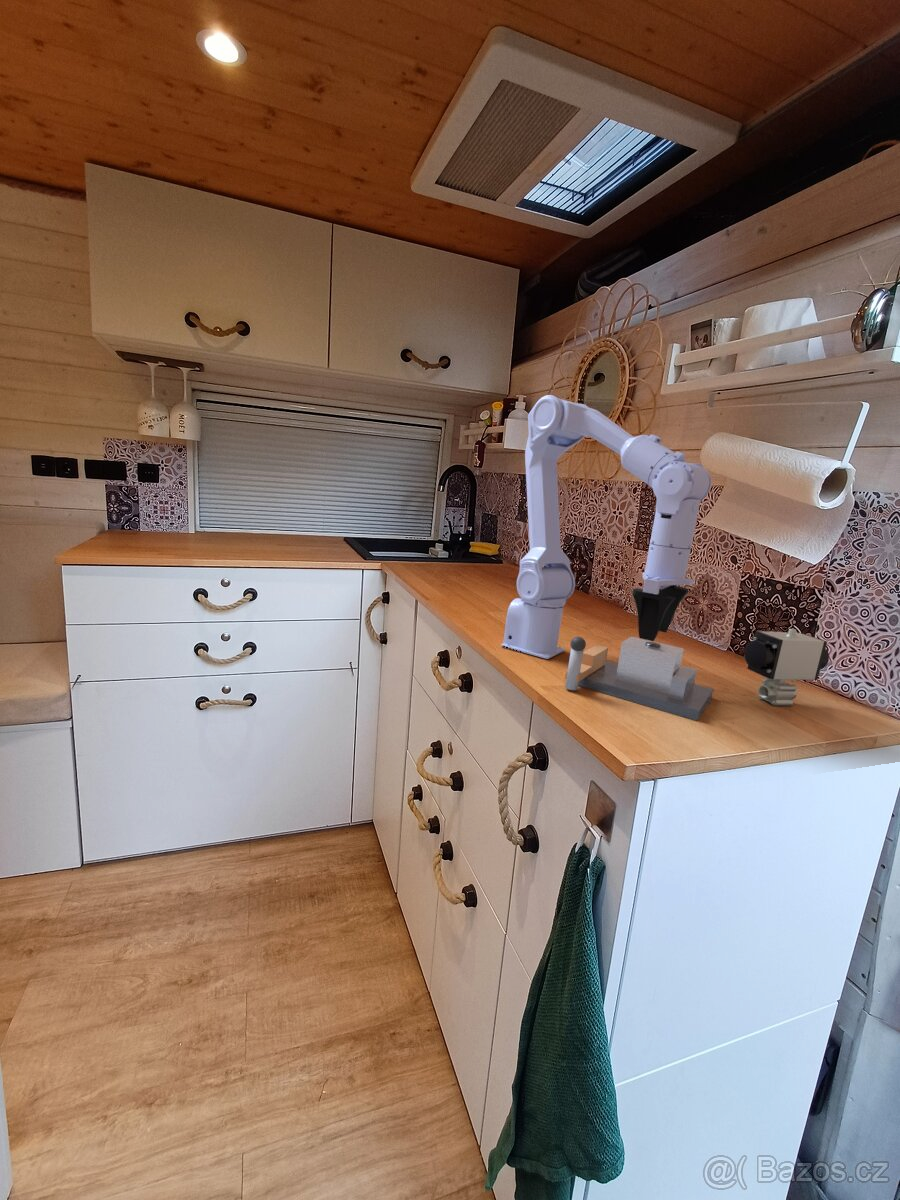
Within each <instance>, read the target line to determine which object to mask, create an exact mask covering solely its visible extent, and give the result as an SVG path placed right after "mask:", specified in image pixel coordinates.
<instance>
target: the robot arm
mask: <svg viewBox="0 0 900 1200" xmlns="http://www.w3.org/2000/svg"><path fill="white" fill-rule="evenodd" d="M527 423H528V424H527V425H528V437H527V441H526V446H525V450H524V451H525V452H524V460H525V463H524V464H525V480H526V484H525V485H526V499H527V501H526V503H527V518H528V519H527V520H528V523H527V524H528V538H529V540H528V541H529V551H528V552H527V553H526V554H525V555H524V556H523V557H522V558H521V559H520V560H519V571H518V576H517V578H516V590H517V593H518V595H519V597H517V598H516V597H515V598H514V599H513V600H512V601H511V602H510V604H509V606H508V609H507V612H506V613H507V614H506V619H505V627H504V636H503V641H502V642H503V643H501V644H500V646H501V645H502V646H505V647H504V648H506V647H508V648H507V649H509V648H511V649H510V650H513V649H514V650H513V651H516V650H517V652H520V651H521V652H520V653H525V654H528V655H531V656H535V657H539V658H542V659H546V660H549V659H551V658H553V657H554V656H557V655H559V654H561V653H563V652H565V651H566V650H565V648H564V647H562V646H558V645H559V637H560V633H561V632H560V630H561V625H562V617H563V611H564V605H566V603H567V599H569V598H570V597H571V596H572V595H573V593H574V591H575V588H576V579H575V575H574V573H573V571H572V569H571V560H570V558H569V557H568V555H567V554H566V553H565V552H564V551H563V550H562V547H561V546H562V545H561V544H562V543H561V527H560V526H561V524H560V503H559V483H558V468H557V467H558V465H557V463H558V460H559V458H561V456H562V455H564V454H565V453H566V452H568V451H569V450H570V449H572V447H574V446H575V445H577V444H578V443H580V442H581V441H582V440H583V439H585V438H586V437H587V438H591V439H594V440H596V442H599V443H600V444H602V445H603V446H605V447H606V448H608V449H610V450H611V451H613V452H614V453H616V454H617V455H619V456H620V463H621V466H622V468H623V469H624V470H626V471H627V472H629V473H630V474H632V475H633V476H635V477H636V478H637V479H639V480H640V481H642V482H643V483H645V484H646V485H648V486H649V487H650V488H652V491H653V494H654V495H655V498H656V503H655V513H654V518H653V519H654V520H653V524H652V530H651V536H650V541H649V546H648V551H647V557H646V563H645V568H644V571H643V572H642V576H641V577H642V579H643V581H644V582H643V588H637V587H635V588H633V589H632V597H633V601H634V602H635V607H636V611H637V627H638V638H640V639H644V640H649V641H653V642H655V640H656V639H657V636H658V634H659V632H663V633H667V632H668V630H669V628H670V625H671V623H672V621H673V618H674V616H675V614H676V611H677V609H678V607H679V606H680V603H681V602H682V600H684V599H685V597H686V595H687V594H688V593H689V590H690V589H689V588H686V587H684V585H685V586H686V585H687V586H692V585H694V579H691V578H686V575H687V570H688V565H689V560H690V556H691V550H692V545H693V541H694V536H695V530H696V527H697V526H696V525H697V520H698V514H699V511H700V504H701V502H702V500H704V499H705V498H706V497H707V495H708V494H709V492H710V490H711V487H712V478H711V475H710V473H709V472H708V470H707V469H706V468H705V467H704V465H702V464H701V463H697V462H691V463H689V462H686V459H685V458H686V455H685V454H684V453H682V452H680V451H676V452H674V451H673V450H671V449H670V448H668V447H667V446H665V445H664V444H662V443H661V442H662V438H661V437H660V436H658V435H656V434H655V435H654V434H650V435H648V434H641V435H640V434H639V435H637V436H633V435H632V434H630V433H629V432H628V431H626V430H625V429H624V428H622V427H621V426H620V425H618V424H617V423H616V422H614V421H613V420H611V418H608V417H607V416H606V415H604V414H603V413H601V412H600V411H599V410H597V409H595V408H592V407H589V406H587V405H586V404H585V403H584V404H583V403H577V402H573V401H570V400H566V399H562V398H559V397H558V396H555V395H552V394H547V395H544V396H542V397H540V398H539V399H538V400H537V402H536V403H535V404H534V406H533V407H532V409H531V410H530V412H529V413H528V414H527ZM502 646H501V647H502Z"/></svg>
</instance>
